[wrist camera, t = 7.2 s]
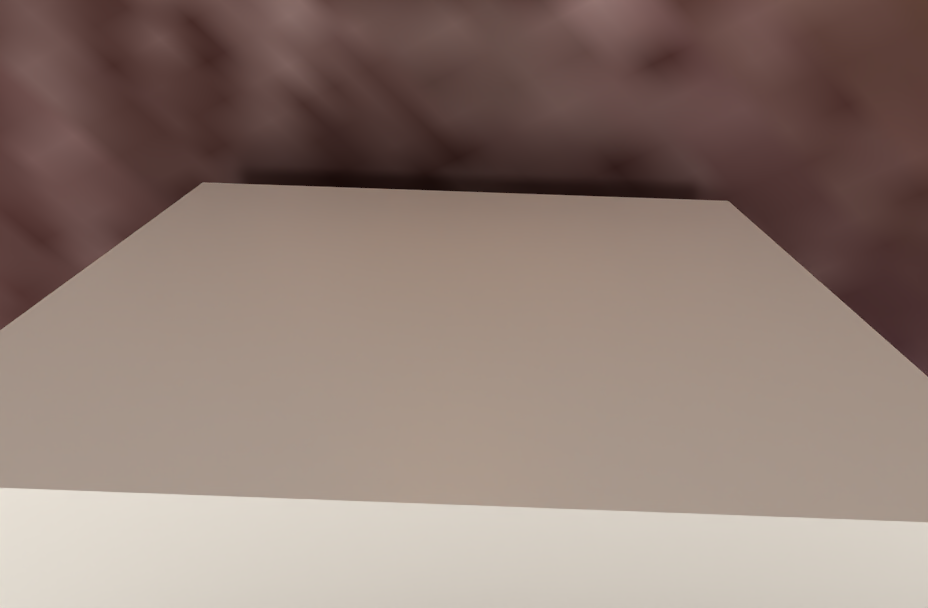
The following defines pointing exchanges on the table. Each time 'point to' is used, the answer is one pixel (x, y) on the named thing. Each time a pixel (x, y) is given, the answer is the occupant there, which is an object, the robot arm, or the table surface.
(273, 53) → the table surface
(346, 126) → the table surface
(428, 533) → the plain cream cube
